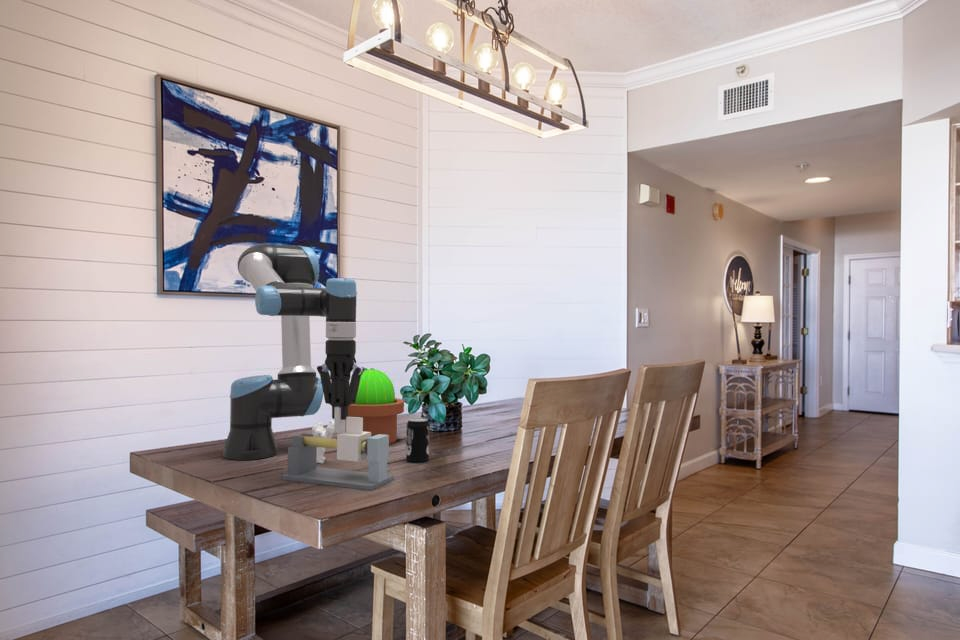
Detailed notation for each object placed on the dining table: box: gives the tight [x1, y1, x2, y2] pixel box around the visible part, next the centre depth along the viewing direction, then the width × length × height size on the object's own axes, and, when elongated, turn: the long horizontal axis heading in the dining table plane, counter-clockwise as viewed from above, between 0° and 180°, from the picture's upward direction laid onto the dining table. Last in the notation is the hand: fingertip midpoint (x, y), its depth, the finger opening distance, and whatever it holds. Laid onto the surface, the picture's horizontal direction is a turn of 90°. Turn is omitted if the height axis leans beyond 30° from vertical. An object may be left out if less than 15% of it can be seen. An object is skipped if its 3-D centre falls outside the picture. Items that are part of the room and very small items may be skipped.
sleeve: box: [336, 417, 371, 462], centre depth 153 cm, size 6×6×10 cm
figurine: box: [311, 419, 335, 464], centre depth 175 cm, size 10×5×12 cm, turn 52°
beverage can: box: [405, 417, 430, 464], centre depth 177 cm, size 7×7×12 cm
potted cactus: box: [345, 367, 405, 445], centre depth 204 cm, size 22×22×25 cm
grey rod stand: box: [281, 432, 395, 491], centre depth 155 cm, size 26×11×12 cm, turn 69°
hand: (339, 432), depth 154 cm, fingers closed
